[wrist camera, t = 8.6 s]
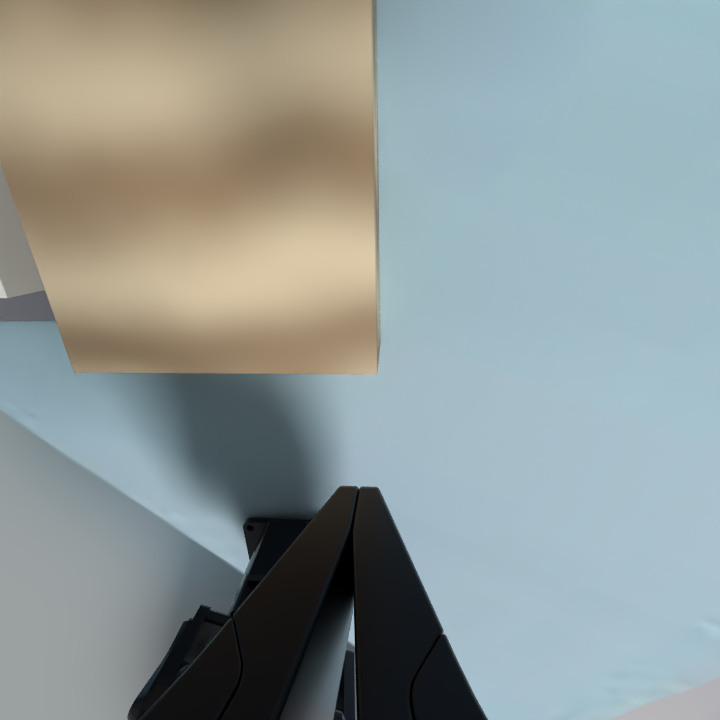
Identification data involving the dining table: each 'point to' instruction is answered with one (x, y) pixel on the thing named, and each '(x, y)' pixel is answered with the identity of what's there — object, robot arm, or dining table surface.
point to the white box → (14, 250)
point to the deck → (198, 180)
